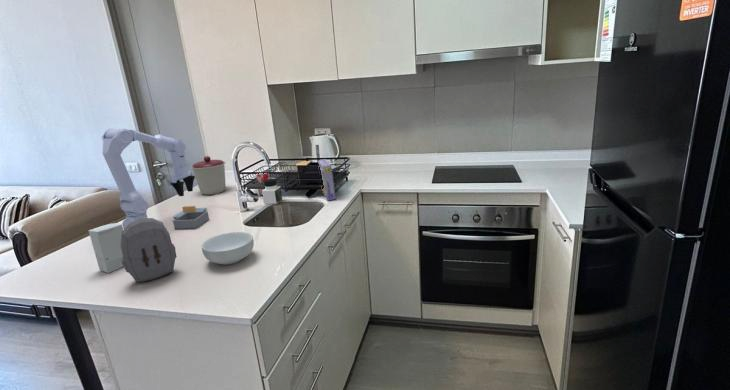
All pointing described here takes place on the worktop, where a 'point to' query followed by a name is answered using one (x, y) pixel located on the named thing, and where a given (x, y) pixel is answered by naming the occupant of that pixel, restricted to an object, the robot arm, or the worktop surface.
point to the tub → (191, 220)
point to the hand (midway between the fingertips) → (185, 193)
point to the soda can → (262, 179)
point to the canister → (210, 176)
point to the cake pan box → (327, 179)
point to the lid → (189, 210)
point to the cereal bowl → (228, 247)
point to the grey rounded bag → (147, 249)
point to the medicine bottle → (271, 192)
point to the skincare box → (107, 246)
